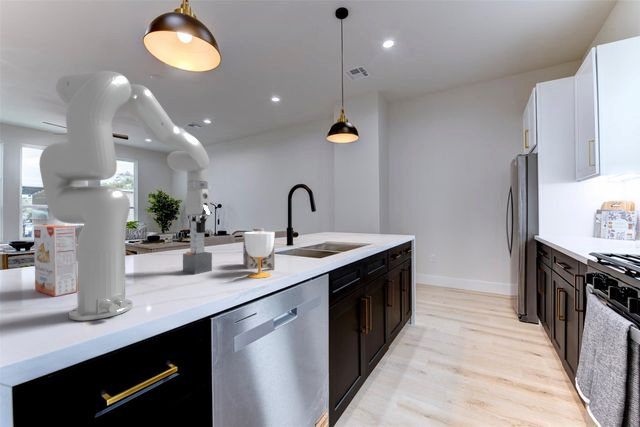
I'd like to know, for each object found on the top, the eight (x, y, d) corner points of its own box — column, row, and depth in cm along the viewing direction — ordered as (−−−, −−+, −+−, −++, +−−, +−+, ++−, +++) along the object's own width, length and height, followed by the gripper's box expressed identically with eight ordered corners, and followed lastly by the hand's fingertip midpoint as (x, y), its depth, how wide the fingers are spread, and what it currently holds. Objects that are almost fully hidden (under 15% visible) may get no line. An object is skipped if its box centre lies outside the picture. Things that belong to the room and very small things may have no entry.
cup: (277, 272, 115) (277, 231, 115) (269, 279, 103) (270, 233, 103) (250, 271, 116) (250, 231, 116) (239, 278, 104) (239, 233, 104)
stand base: (220, 273, 113) (219, 250, 113) (193, 279, 103) (193, 253, 103) (201, 270, 119) (201, 248, 119) (174, 275, 109) (174, 251, 109)
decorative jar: (243, 267, 126) (243, 227, 126) (268, 265, 131) (268, 227, 131) (247, 272, 116) (247, 229, 115) (275, 269, 120) (275, 228, 120)
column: (204, 271, 111) (204, 221, 111) (194, 273, 108) (194, 221, 108) (198, 270, 113) (198, 221, 113) (189, 272, 110) (188, 221, 109)
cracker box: (33, 291, 88) (32, 225, 88) (58, 286, 93) (57, 224, 93) (52, 297, 81) (52, 226, 81) (78, 292, 87) (77, 225, 86)
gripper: (219, 186, 109) (219, 232, 110) (193, 188, 118) (193, 231, 118) (202, 184, 103) (202, 234, 103) (176, 186, 112) (176, 232, 112)
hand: (197, 232), depth 111 cm, fingers open, 3 cm apart
